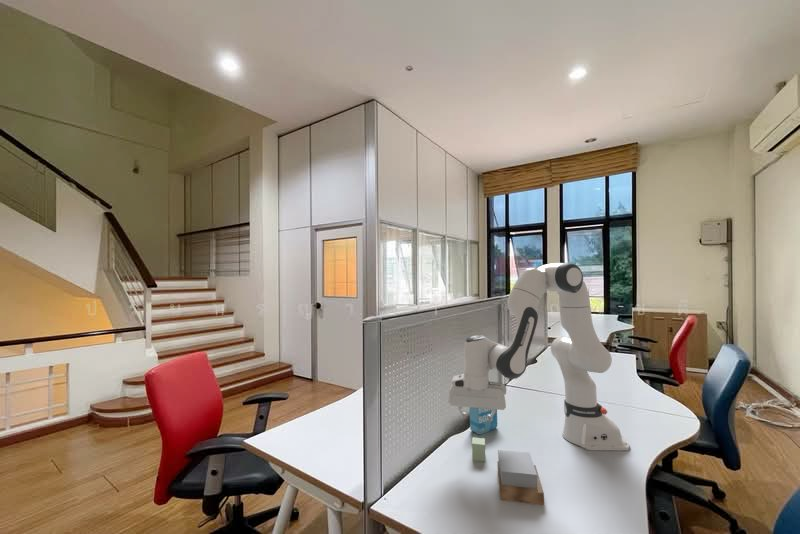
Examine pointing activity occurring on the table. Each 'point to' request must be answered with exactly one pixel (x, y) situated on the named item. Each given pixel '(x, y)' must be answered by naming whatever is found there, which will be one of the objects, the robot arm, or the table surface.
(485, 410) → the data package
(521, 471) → the tower top
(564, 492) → the table surface
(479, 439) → the sage block
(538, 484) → the tower base
